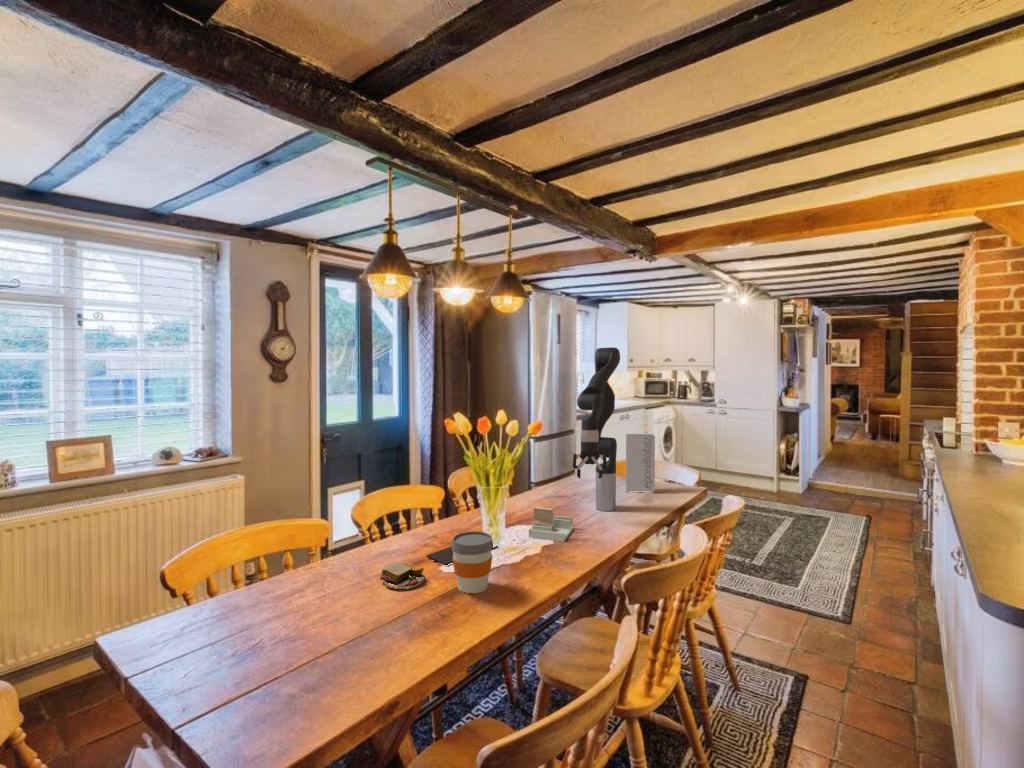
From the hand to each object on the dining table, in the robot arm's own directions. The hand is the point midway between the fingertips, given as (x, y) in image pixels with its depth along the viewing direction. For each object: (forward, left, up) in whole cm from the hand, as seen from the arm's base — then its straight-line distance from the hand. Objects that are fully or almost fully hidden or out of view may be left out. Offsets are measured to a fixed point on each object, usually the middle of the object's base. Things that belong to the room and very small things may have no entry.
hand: (589, 478), depth 212 cm
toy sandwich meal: (+78, -43, -19) cm, 91 cm away
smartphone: (+49, -36, -19) cm, 64 cm away
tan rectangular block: (+24, -13, -18) cm, 33 cm away
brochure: (-57, +16, -19) cm, 62 cm away
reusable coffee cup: (+73, -21, -19) cm, 79 cm away
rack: (+19, -11, -19) cm, 29 cm away
